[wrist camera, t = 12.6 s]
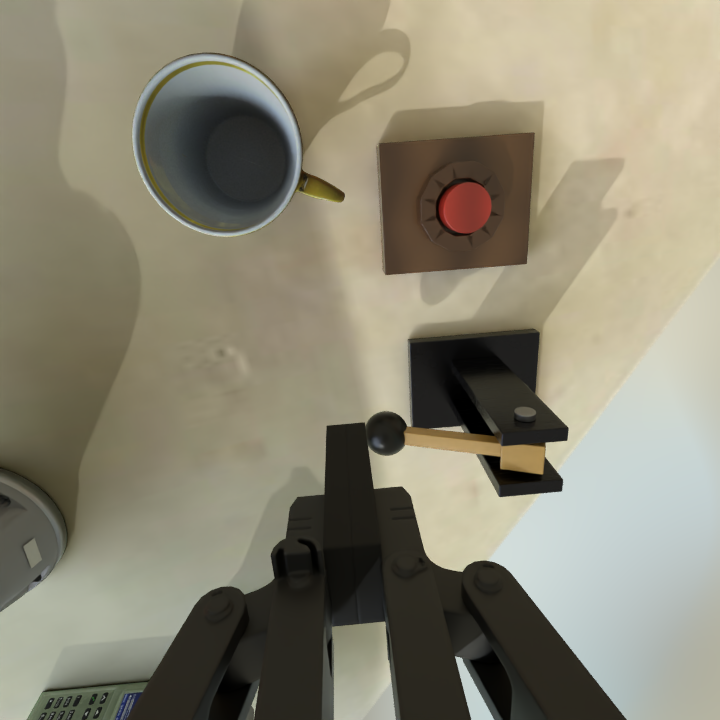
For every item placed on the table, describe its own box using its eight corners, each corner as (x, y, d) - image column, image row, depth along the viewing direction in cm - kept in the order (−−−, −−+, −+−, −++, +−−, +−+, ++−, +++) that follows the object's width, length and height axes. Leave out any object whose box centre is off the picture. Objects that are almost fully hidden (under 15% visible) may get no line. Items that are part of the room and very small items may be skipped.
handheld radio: (39, 687, 55) (245, 666, 56) (49, 704, 57) (249, 684, 57) (3, 751, 49) (234, 728, 50) (14, 769, 51) (239, 746, 51)
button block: (382, 270, 40) (387, 279, 36) (376, 146, 36) (381, 141, 33) (517, 260, 40) (535, 267, 37) (523, 135, 37) (545, 129, 33)
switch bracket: (410, 424, 45) (444, 526, 32) (407, 339, 42) (443, 410, 28) (528, 414, 46) (613, 510, 32) (534, 328, 43) (631, 394, 29)
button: (438, 233, 36) (443, 235, 34) (438, 184, 34) (443, 183, 33) (484, 229, 36) (491, 231, 34) (485, 180, 34) (492, 180, 33)
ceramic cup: (172, 200, 37) (117, 203, 28) (200, 67, 34) (149, 20, 25) (323, 254, 39) (320, 274, 30) (362, 134, 36) (372, 114, 27)
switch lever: (373, 438, 38) (359, 460, 35) (371, 402, 37) (356, 422, 34) (542, 459, 34) (542, 486, 31) (545, 418, 32) (546, 442, 29)
